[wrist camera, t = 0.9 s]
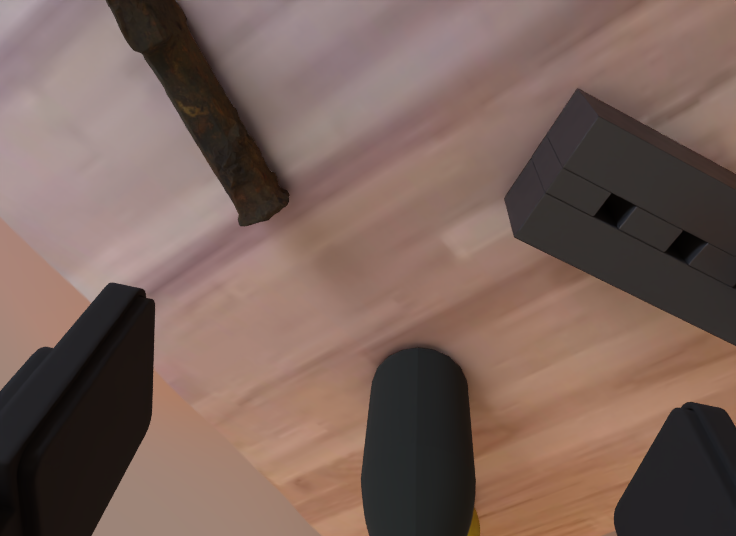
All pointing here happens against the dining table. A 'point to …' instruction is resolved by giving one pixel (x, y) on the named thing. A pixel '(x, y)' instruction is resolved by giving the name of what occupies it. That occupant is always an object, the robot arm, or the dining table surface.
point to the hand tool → (201, 105)
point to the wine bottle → (418, 448)
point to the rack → (633, 213)
